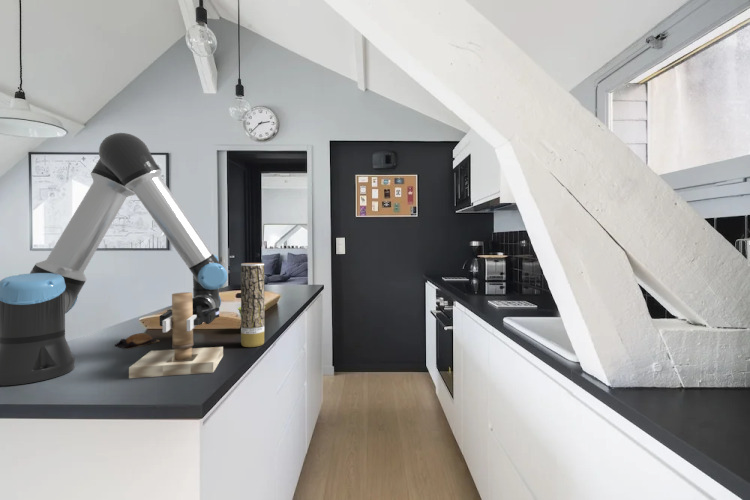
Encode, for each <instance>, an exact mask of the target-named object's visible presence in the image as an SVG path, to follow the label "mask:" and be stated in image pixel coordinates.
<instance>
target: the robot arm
mask: <svg viewBox="0 0 750 500" xmlns="http://www.w3.org/2000/svg"><path fill="white" fill-rule="evenodd" d="M98 155H99V159H98V160H97V162H96V164H95V165H94V167H93V168H92V170H91V173H90V176H91V178H92V184H91V185H90V187H89V188H88V190H87V192H86V193H85V195H84V196H83V198H82V201H81V202H80V204H79V205H78V207H77V208H76V210H75V212H74V213H73V215H72V217H71V218H70V219H69V222H68V223H67V225H66V226H65V228H64V230H63V231H62V233H61V235H60V237H59V238H58V240H57V241H56V243H55V245H54V246H53V249H52V250H51V251H50V253H49V255H48V257H47V258H46V259H45V260H42V261H39V262H36V263H35V264H34V266H33V267H32V269H31V270H30V272H29V273H22V274H18V275H10V276H6V277H4V278H2V279H1V280H0V386H3V387H5V386H17V385H25V384H32V383H37V382H41V381H46V380H50V379H51V380H52V379H54V378H57V377H60V376H63V375H66V374H68V373H70V372H72V371H73V370H75V357H74V355H73V352H72V350H71V348H70V346H69V343H68V341H67V339H66V314H67V313H69V311H70V310H72V308H74V306H75V304H77V303H76V302H77V301H78V296H79V294H80V292H81V290H82V288H83V287H84V285H85V283H86V281H87V277H86V275H85V270H86V269H87V267H88V266H89V263H90V262H91V260H92V258H93V256H94V255H95V253H96V251H97V250H98V247H99V246H100V244H101V243H102V240H103V239H104V237H105V235H106V234H107V232H108V230H109V229H110V227H111V225H112V224H113V222H114V220H115V218H116V217H117V216H118V213H119V211H120V209H121V208H122V206H123V205H124V203H125V201H126V200H127V198H128V197H131V196H135V195H136V197H137V198H138V199H139V201H140V202H141V204H142V206H143V207H144V208H145V209H146V211H147V213H149V216H151V218H152V219H153V221H154V222H155V223H156V225H157V226H158V228H159V229H160V230H161V232H162V233H163V234H164V235H165V237H166V239H167V240H168V241H169V243H170V244H171V246H172V247H173V248H174V249H175V251H176V252H177V254H178V255H179V256H180V258H181V260H183V262H184V263H185V265H186V266H187V267H188V269H189V271H190V272H191V273H192V283H193V285H192V286H193V288H192V300H193V316H191V317H190V318H189V319H187V331H191V330H192V329H193V330H194V329H195V328H196V327H197V326H201V325H203V324H205V325H210V324H211V323H212V322H213V321H215V320H216V319H217V318H220V308H221V304H222V299H221V296H220V288H222V287H223V286H224V285H225V284H226V283H227V280H228V272H227V270H226V268H225V266H223V265H222V264H220V262H219V257H218V256H217V255H216V254H215V255H214V253H213V252H212V250H211V248H210V247H209V246H208V244H207V243H206V241H205V240H204V238H203V236H202V235H201V234H200V233H199V231H198V230H197V228H196V227H195V226H194V224H193V222H192V221H191V219H190V218H189V216H188V215H187V214H186V212H185V211H184V209H183V208H182V206H181V205H180V203H179V202H178V200H177V199H176V197H175V196H174V195H173V193H172V191H171V190H170V189H169V187H168V186H167V183H165V181H164V180H163V179H162V177H161V173H162V170H161V168H160V167H159V166H158V164H157V162H156V160H155V159H154V158H153V156H152V154H151V151H150V149H149V148H148V146H147V145H146V143H145V142H144V141H143V140H141V139H140V138H139V137H137V136H135V135H133V134H130V133H125V132H115V133H113V134H110V135H107V136H106V137H105V138H104V139H103V140H102V141H101V143H100V145H99V148H98ZM159 327H162V333H168V332H169V331H170V330H172V308H171V309H170V308H169V309H167V311H166V312H164V313H162V314H159Z"/></svg>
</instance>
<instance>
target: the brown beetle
mask: <svg viewBox="0 0 750 500" xmlns="http://www.w3.org/2000/svg"><path fill="white" fill-rule="evenodd" d="M160 341H161V340H159V339H156V338H154V337H153V336H152V335H150V334H149V333H145V332H140V333H134V334H132V335H129V336H128V337H126V338H121V339H120V340H119V342H117V343H116V344H114V347H115V348H120V349H122V350H123V349H126V350H127V349H128V350H129V349H133V348H140V347H143V346H146V345H152V344H155V343H158V342H160Z"/></svg>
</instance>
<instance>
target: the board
mask: <svg viewBox="0 0 750 500" xmlns="http://www.w3.org/2000/svg"><path fill="white" fill-rule="evenodd" d="M223 357H224V346H215V347H211V346H210V347H197V348H195V347H194V348H193V347H192V357H191V358H190V359H187V360H175V355H174V349H162V350H161V349H160V350H157V349H156V350H150V351H149V352H148V353H145V355H144V356H142V357H141V358H139V359H138V360H136V362H134V363H133V364H131V365H130V366H129V367H128V379H138V378H139V379H140V378H154V377H169V376H183V375H185V376H186V375H195V374H209V373H210V374H211V373H214V372H215V371H216V369H217V367H218V366H219V363H220V362H221V360H222V359H223Z"/></svg>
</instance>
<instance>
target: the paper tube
mask: <svg viewBox="0 0 750 500" xmlns="http://www.w3.org/2000/svg"><path fill="white" fill-rule="evenodd" d="M264 306H265V263H264V262H243V263H241V264H240V307H241V316H240V344H241V346H242V347H244V348H255V347H256V348H257V347H260V346H263V345H264V343H265V308H264Z"/></svg>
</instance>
